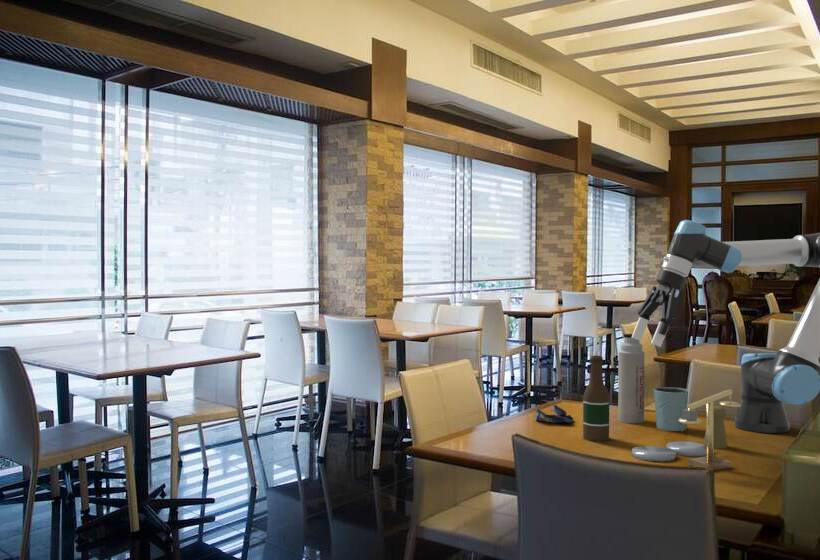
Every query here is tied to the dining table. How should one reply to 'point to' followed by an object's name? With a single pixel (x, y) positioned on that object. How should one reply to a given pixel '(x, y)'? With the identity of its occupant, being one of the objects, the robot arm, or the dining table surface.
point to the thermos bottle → (631, 381)
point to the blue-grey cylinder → (670, 407)
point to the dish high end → (687, 448)
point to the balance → (708, 429)
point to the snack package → (559, 417)
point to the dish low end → (653, 453)
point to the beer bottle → (596, 405)
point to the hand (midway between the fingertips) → (645, 342)
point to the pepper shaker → (718, 428)
